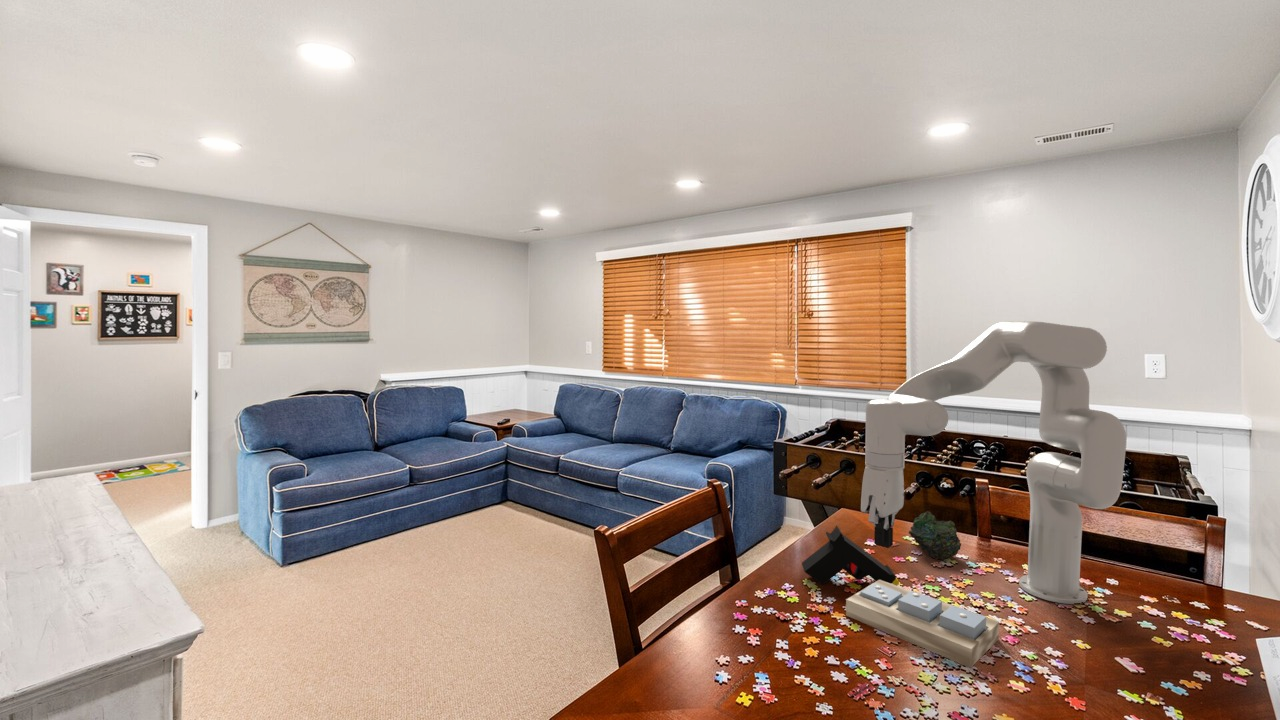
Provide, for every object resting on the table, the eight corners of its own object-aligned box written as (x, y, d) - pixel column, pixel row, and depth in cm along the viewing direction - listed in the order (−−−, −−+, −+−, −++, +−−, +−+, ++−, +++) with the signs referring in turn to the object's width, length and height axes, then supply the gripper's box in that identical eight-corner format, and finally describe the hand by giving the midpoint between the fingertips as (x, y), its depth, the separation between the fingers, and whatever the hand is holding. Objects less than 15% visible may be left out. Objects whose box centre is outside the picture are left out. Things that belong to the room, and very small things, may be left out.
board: (878, 594, 129) (879, 579, 129) (998, 639, 111) (999, 621, 111) (845, 615, 120) (846, 599, 120) (970, 667, 102) (971, 648, 102)
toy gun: (867, 620, 133) (902, 579, 131) (803, 571, 135) (837, 531, 133) (862, 609, 138) (895, 570, 136) (801, 562, 140) (833, 523, 138)
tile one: (952, 617, 113) (952, 603, 113) (985, 629, 109) (986, 615, 109) (939, 627, 109) (939, 614, 109) (973, 641, 105) (974, 626, 105)
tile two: (911, 602, 119) (911, 589, 119) (941, 613, 115) (942, 600, 115) (897, 611, 116) (898, 598, 115) (928, 623, 111) (929, 610, 111)
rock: (894, 543, 159) (895, 508, 158) (929, 540, 161) (930, 505, 160) (927, 564, 145) (929, 526, 144) (966, 561, 147) (967, 523, 146)
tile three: (874, 594, 126) (874, 582, 125) (901, 604, 121) (902, 592, 121) (860, 603, 122) (860, 590, 121) (888, 614, 117) (888, 601, 117)
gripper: (884, 450, 127) (883, 531, 128) (849, 462, 117) (848, 549, 119) (919, 456, 121) (917, 541, 123) (884, 469, 112) (883, 561, 113)
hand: (883, 545), depth 121 cm, fingers closed
